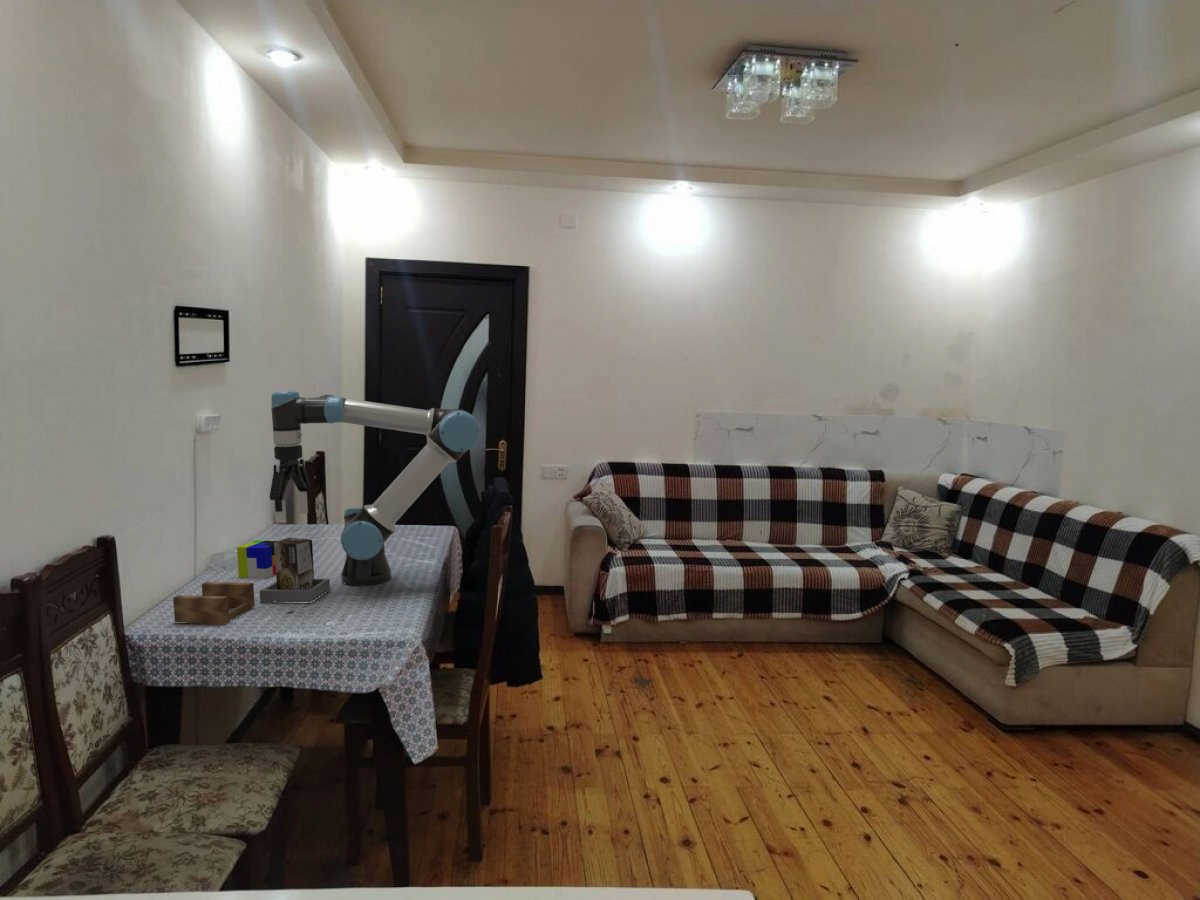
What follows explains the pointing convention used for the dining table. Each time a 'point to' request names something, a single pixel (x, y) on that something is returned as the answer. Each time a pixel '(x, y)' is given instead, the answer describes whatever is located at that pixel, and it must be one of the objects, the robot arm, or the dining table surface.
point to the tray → (294, 592)
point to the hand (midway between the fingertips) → (292, 518)
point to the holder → (215, 603)
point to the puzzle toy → (256, 559)
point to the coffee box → (294, 564)
